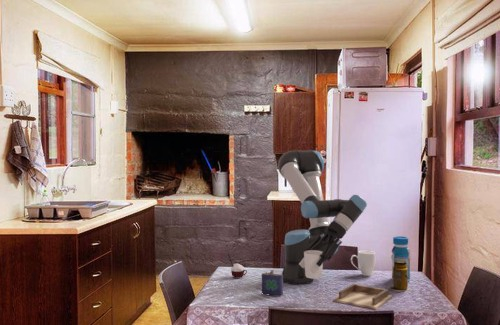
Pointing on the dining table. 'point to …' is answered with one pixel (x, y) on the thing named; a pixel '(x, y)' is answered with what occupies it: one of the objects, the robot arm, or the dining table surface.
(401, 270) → the condiment
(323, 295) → the dining table surface
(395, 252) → the beverage bottle
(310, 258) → the white cup
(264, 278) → the flask
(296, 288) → the dining table surface
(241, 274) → the cocoa
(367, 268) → the mug
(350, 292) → the dock
